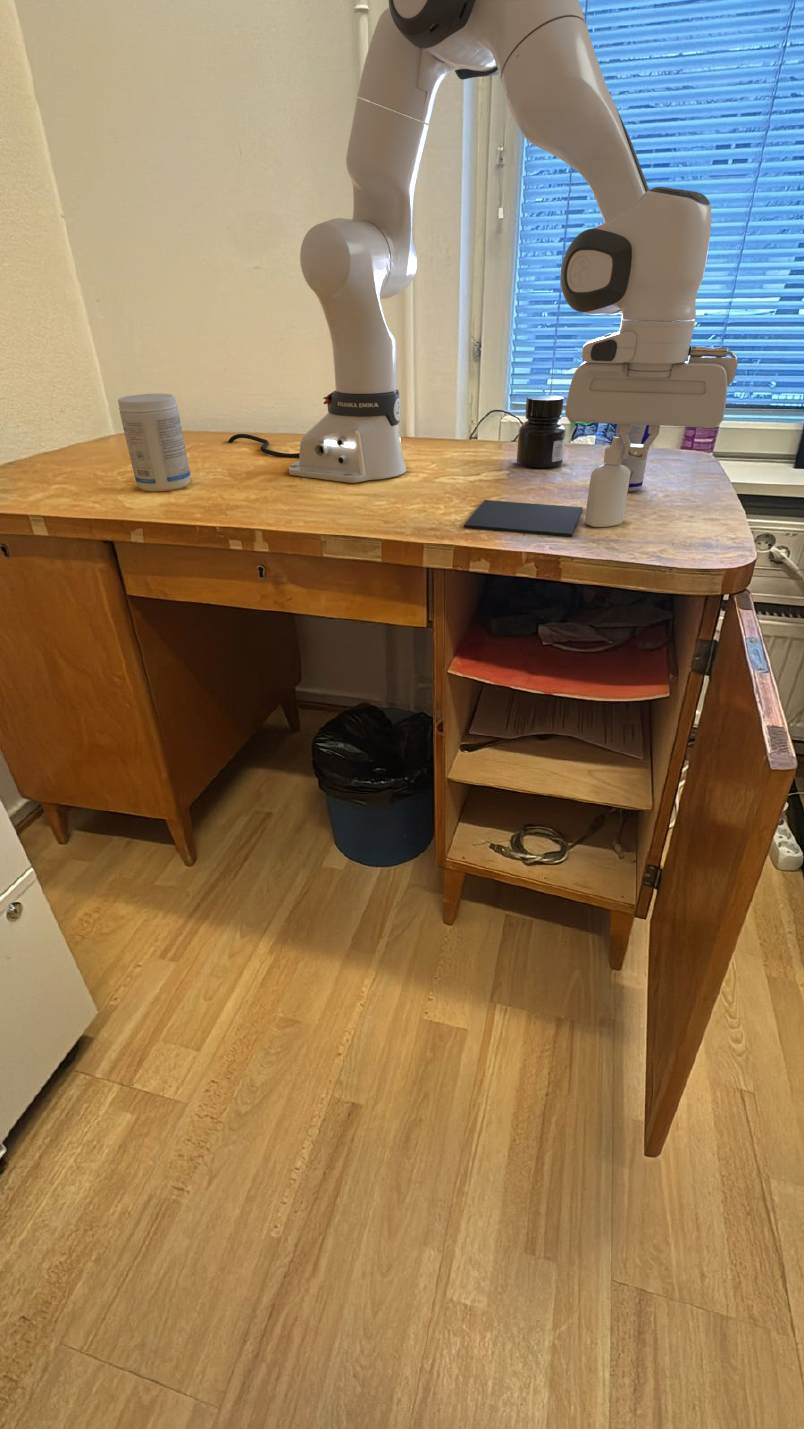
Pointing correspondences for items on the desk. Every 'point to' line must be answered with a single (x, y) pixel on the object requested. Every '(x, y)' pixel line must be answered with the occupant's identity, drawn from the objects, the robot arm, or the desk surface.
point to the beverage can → (635, 466)
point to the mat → (525, 518)
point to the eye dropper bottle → (608, 489)
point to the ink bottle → (542, 433)
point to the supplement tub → (155, 441)
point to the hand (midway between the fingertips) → (634, 459)
